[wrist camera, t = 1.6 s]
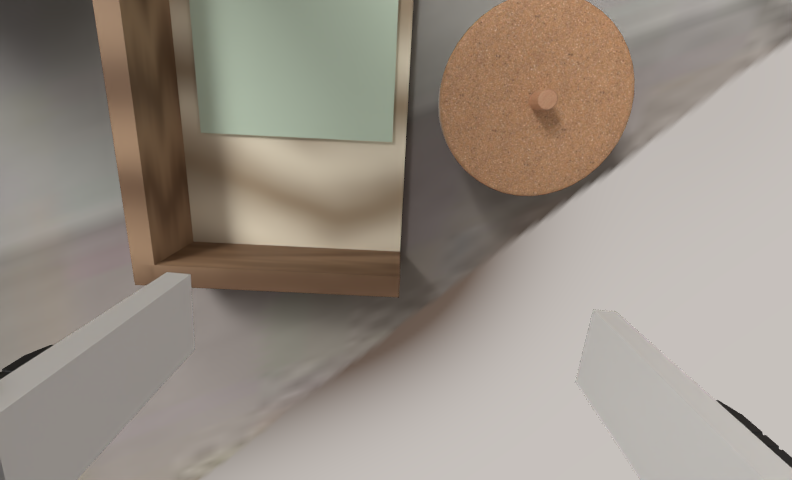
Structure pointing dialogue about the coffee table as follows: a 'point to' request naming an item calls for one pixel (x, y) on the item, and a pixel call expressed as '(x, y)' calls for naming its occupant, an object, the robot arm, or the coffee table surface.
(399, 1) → the board
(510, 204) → the coffee table surface
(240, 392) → the coffee table surface
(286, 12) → the pad
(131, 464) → the coffee table surface
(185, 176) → the walls
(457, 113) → the lidded jar
